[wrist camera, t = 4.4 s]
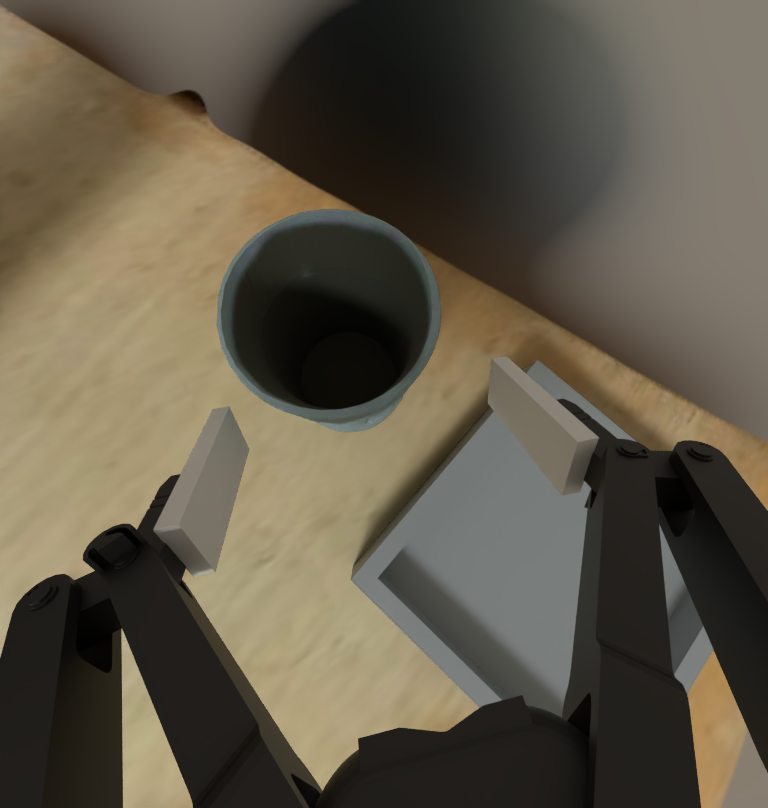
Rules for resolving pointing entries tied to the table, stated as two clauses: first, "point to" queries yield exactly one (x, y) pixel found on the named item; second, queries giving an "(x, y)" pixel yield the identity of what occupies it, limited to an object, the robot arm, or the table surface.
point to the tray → (503, 568)
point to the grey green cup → (329, 317)
